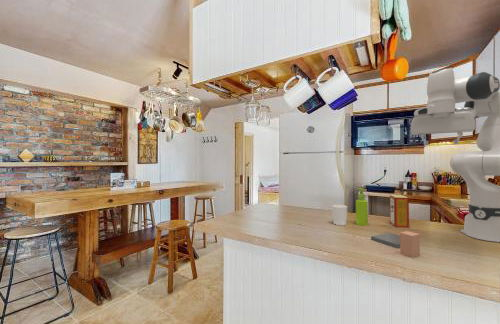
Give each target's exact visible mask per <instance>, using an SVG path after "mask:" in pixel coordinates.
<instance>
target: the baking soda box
mask: <svg viewBox="0 0 500 324" xmlns="http://www.w3.org/2000/svg"><path fill="white" fill-rule="evenodd" d="M409 199H410V198H409V197H407V196H405V195H403V194H402V195H401V194H400V195H399V194H389V222H390V224H391V225H392V226H393V227H394V228H404V229H409V228H410V203H409V202H410V200H409Z"/></svg>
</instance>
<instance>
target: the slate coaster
mask: <svg viewBox="0 0 500 324" xmlns="http://www.w3.org/2000/svg"><path fill="white" fill-rule="evenodd" d="M370 239H371V241H374V242H377V243H380V244H383V245H385V246H390V247H393V248H396V249H400V234H397V233H392V232H385V233H381V234H375V235H371V238H370Z"/></svg>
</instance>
